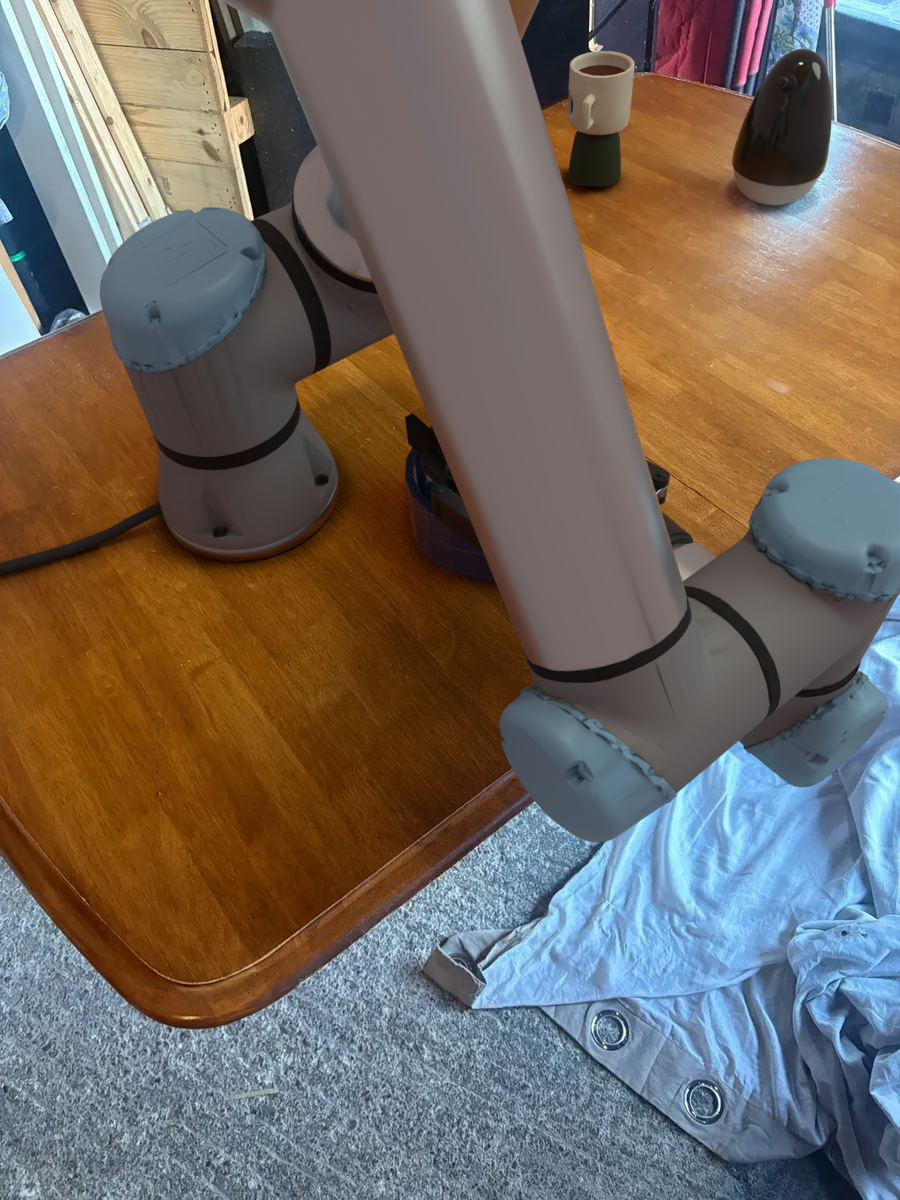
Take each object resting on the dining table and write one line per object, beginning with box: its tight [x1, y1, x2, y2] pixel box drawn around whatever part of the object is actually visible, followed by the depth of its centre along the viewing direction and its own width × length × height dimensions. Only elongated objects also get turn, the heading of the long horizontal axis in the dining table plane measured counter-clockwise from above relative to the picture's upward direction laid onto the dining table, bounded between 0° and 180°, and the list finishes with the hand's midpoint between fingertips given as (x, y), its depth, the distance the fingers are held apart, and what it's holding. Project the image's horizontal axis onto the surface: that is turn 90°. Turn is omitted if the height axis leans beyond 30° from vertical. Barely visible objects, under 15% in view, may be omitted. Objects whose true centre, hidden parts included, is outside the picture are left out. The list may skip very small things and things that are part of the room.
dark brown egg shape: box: [731, 48, 833, 207], centre depth 97 cm, size 10×10×15 cm
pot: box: [404, 425, 495, 582], centre depth 72 cm, size 14×14×6 cm
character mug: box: [566, 50, 636, 187], centre depth 103 cm, size 11×7×13 cm, turn 156°
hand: (455, 405), depth 70 cm, fingers closed on canned tomato, 8 cm apart
